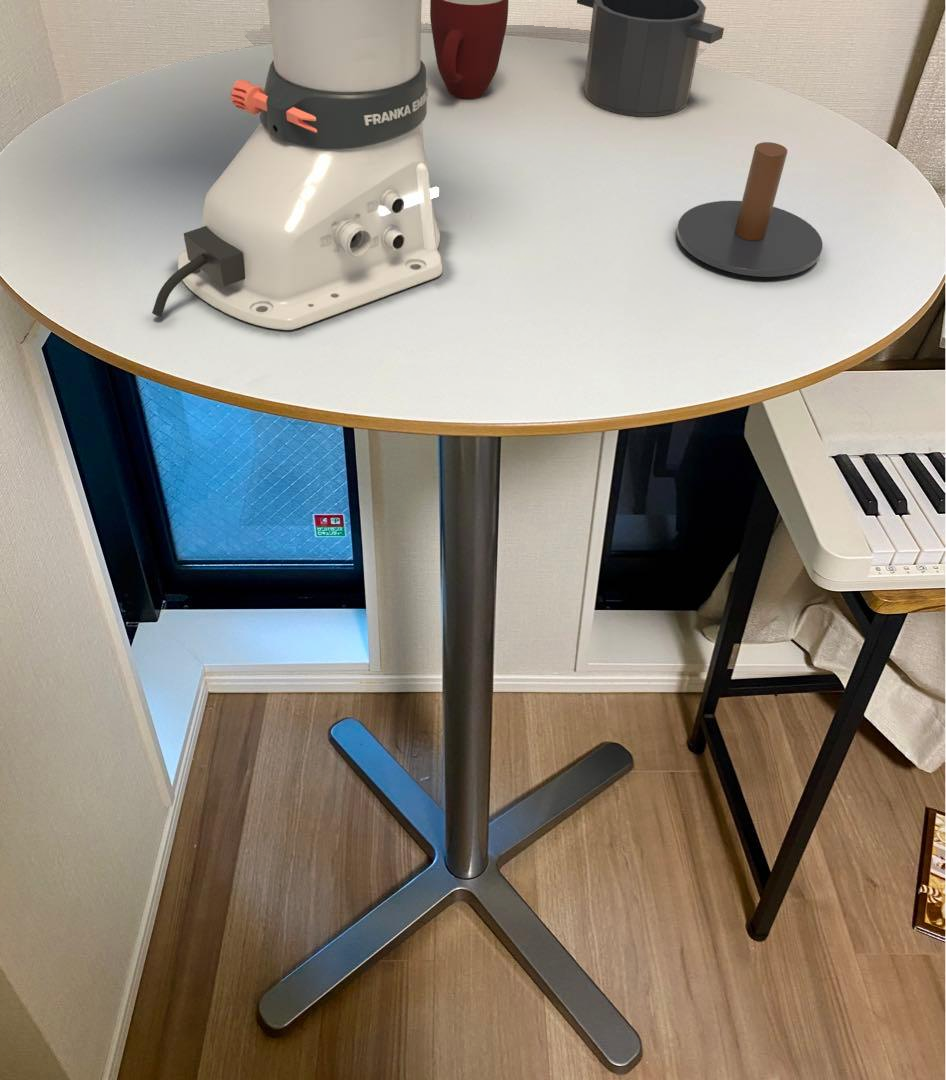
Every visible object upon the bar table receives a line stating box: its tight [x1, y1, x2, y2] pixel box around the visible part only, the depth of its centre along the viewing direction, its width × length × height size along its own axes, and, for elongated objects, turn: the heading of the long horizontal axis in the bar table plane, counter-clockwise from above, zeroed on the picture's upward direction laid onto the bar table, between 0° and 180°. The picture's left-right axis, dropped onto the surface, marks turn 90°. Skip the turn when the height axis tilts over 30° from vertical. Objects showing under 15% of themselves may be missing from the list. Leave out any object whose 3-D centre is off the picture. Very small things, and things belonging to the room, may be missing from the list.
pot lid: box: [676, 141, 823, 278], centre depth 83 cm, size 12×12×9 cm
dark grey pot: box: [576, 0, 725, 118], centre depth 106 cm, size 11×17×9 cm
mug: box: [429, 0, 509, 100], centre depth 104 cm, size 11×8×10 cm
